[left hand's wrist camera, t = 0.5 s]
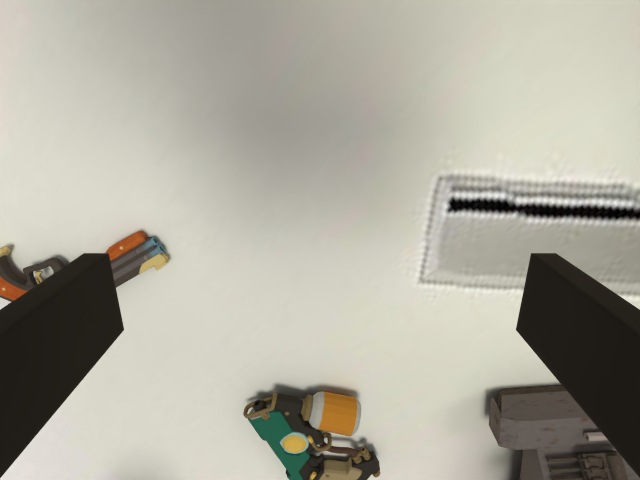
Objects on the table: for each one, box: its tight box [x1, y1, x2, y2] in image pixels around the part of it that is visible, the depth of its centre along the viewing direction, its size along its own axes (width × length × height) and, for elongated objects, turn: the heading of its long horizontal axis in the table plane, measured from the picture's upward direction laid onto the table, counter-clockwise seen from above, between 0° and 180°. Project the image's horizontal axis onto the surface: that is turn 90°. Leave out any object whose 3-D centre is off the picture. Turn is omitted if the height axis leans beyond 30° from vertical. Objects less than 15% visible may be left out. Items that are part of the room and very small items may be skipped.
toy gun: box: [0, 231, 169, 302], centre depth 41 cm, size 3×19×10 cm
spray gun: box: [244, 391, 380, 480], centre depth 48 cm, size 4×17×15 cm
